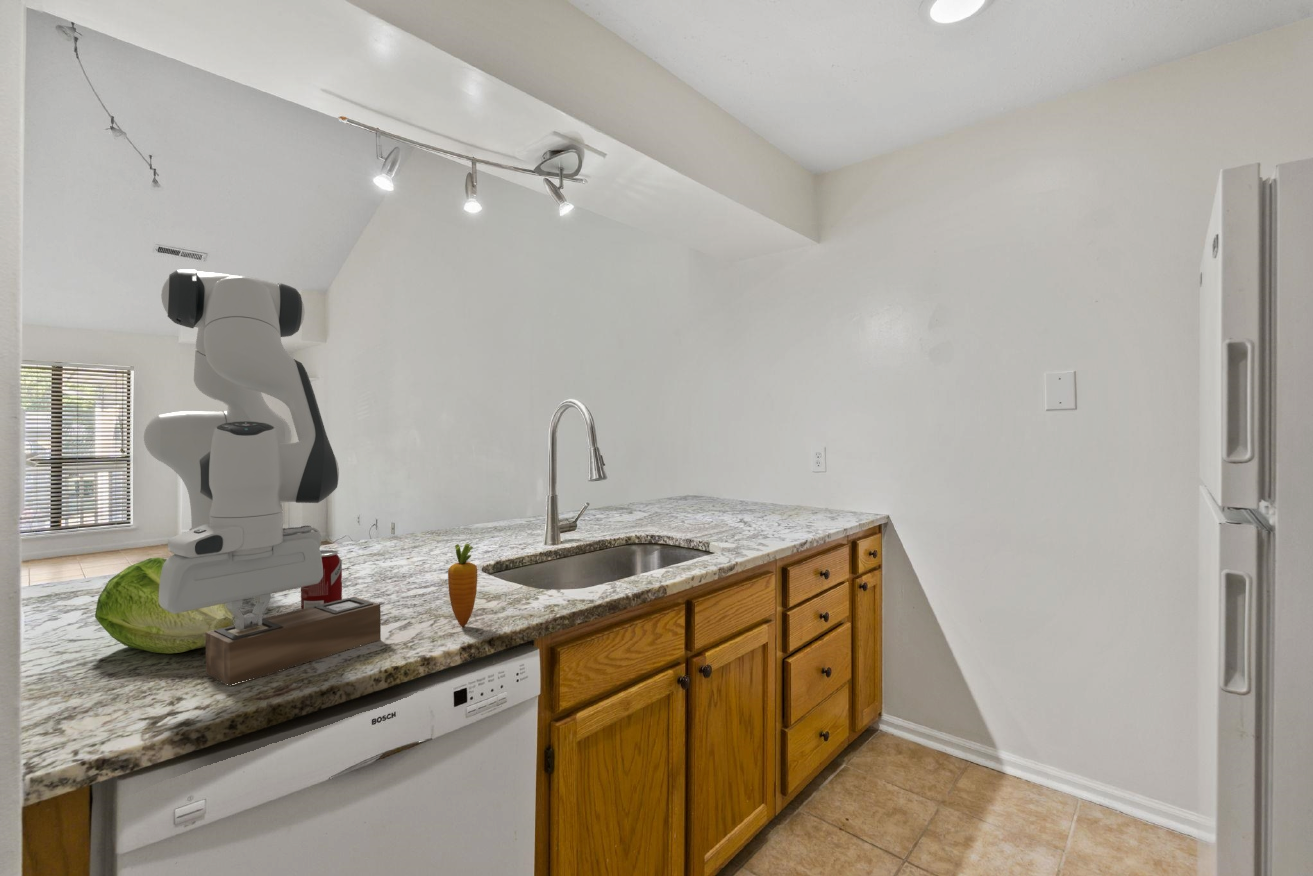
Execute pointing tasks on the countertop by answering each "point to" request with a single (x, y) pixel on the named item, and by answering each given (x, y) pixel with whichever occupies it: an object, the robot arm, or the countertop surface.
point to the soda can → (325, 582)
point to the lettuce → (153, 613)
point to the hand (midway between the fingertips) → (248, 627)
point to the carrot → (462, 585)
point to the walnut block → (291, 640)
